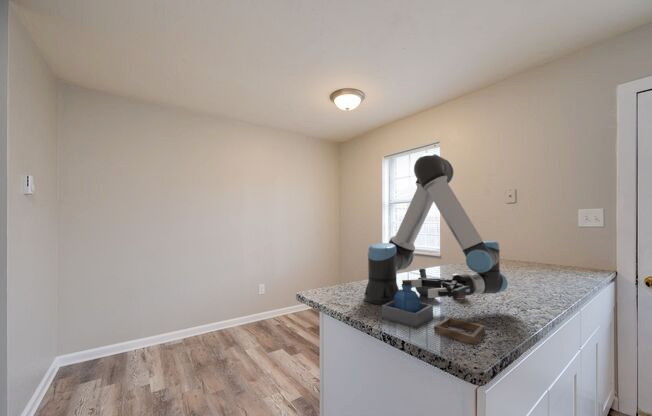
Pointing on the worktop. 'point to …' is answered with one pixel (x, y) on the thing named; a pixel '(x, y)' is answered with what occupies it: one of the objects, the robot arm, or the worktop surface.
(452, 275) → the pill bottle
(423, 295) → the mortar and pestle
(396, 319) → the bin
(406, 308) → the perfume bottle
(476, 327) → the holder
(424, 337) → the worktop surface
